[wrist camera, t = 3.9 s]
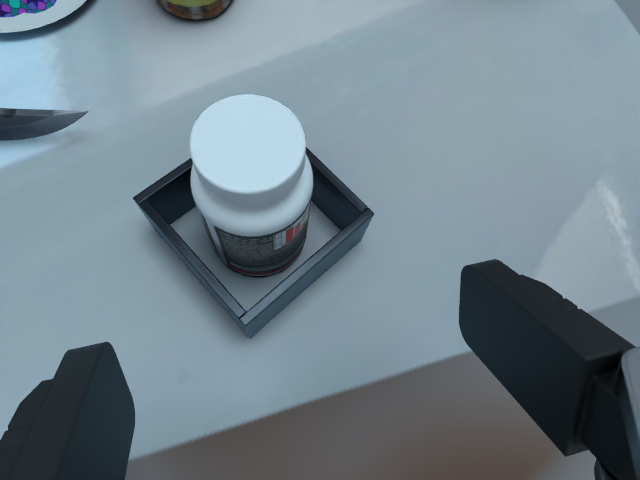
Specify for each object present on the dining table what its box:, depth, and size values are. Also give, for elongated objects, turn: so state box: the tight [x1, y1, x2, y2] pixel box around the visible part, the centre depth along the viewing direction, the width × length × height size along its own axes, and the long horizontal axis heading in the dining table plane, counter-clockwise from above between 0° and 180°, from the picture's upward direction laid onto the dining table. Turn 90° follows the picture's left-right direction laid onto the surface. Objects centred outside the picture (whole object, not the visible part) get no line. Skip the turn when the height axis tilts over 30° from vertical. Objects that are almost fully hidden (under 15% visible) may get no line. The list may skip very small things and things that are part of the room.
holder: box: [133, 148, 374, 338], centre depth 25 cm, size 9×9×4 cm
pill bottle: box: [189, 95, 313, 276], centre depth 22 cm, size 6×6×10 cm
